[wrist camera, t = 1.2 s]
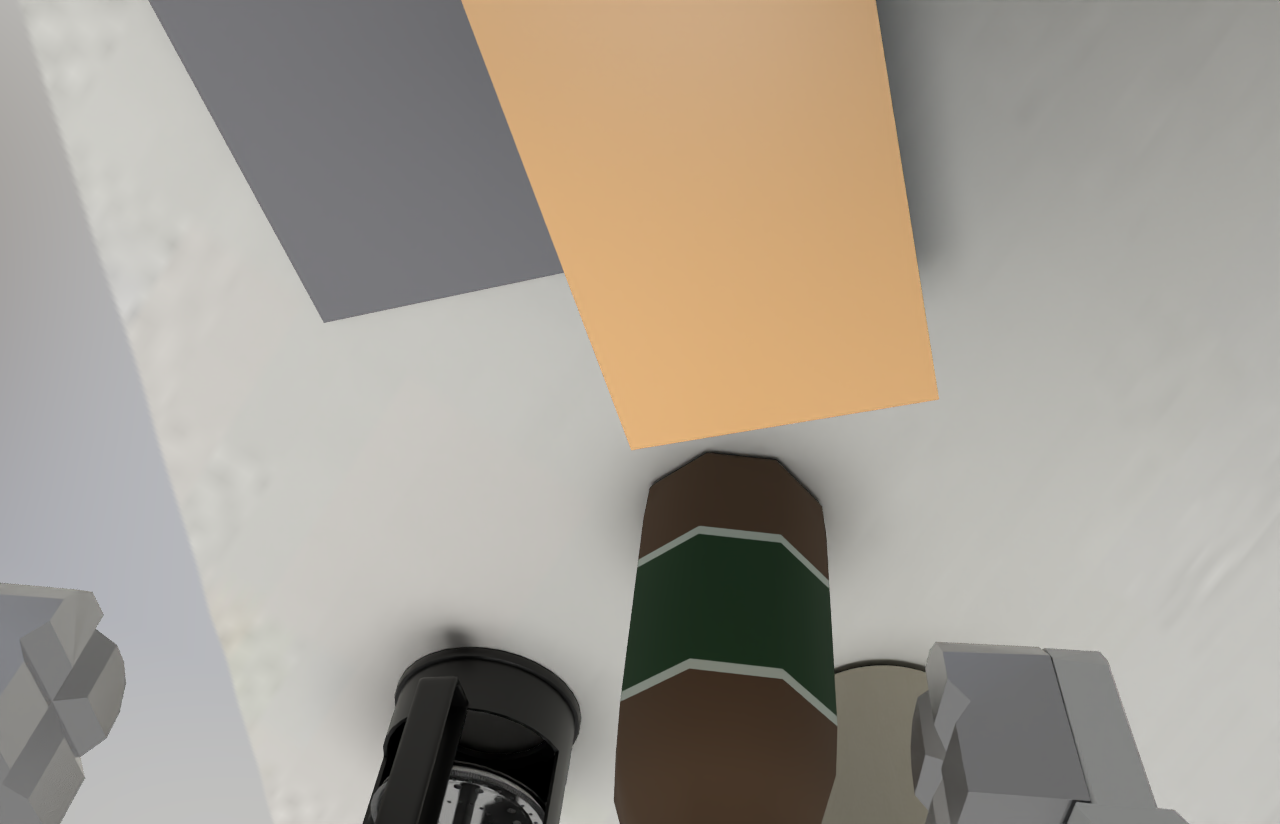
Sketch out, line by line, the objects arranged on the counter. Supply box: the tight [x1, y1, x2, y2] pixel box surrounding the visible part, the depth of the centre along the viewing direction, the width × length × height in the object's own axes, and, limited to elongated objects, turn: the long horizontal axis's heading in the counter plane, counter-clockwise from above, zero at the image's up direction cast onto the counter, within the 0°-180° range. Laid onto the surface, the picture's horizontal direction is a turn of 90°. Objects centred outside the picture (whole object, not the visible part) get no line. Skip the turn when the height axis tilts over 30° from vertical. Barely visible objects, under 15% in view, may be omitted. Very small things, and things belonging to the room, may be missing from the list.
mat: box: [149, 0, 564, 323], centre depth 36 cm, size 11×14×1 cm
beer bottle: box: [614, 453, 838, 824], centre depth 36 cm, size 8×8×24 cm
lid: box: [461, 0, 939, 450], centre depth 29 cm, size 10×19×2 cm, turn 16°
